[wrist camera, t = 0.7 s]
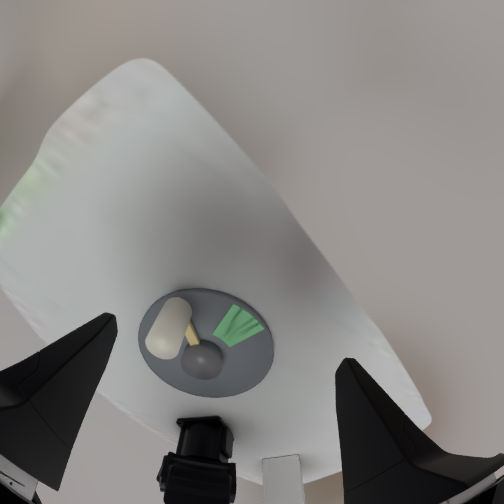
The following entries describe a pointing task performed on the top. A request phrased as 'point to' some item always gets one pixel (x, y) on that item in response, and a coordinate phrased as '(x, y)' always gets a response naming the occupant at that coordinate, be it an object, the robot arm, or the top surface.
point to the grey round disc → (223, 336)
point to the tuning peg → (171, 336)
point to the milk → (283, 480)
